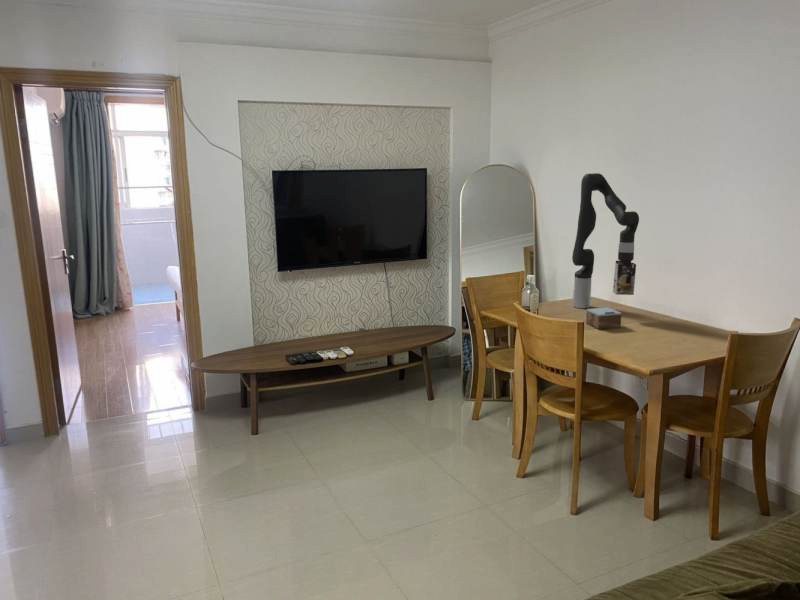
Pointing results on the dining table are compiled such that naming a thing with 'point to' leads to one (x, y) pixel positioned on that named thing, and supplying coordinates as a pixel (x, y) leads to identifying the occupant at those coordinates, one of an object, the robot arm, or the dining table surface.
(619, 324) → the box
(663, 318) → the dining table surface
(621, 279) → the coffee box
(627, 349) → the dining table surface
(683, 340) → the dining table surface
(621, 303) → the dining table surface
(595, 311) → the lid
